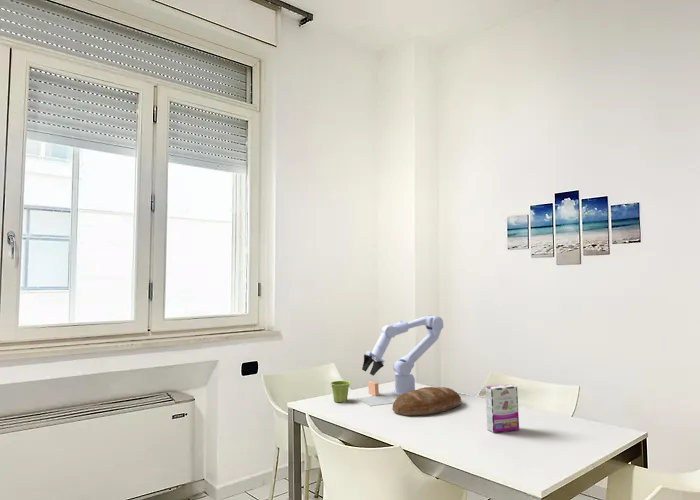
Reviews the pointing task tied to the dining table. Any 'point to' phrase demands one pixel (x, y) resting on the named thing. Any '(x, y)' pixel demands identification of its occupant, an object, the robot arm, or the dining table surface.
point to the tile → (373, 388)
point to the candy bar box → (502, 408)
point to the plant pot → (340, 390)
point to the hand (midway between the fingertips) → (367, 372)
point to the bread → (426, 401)
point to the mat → (375, 400)
